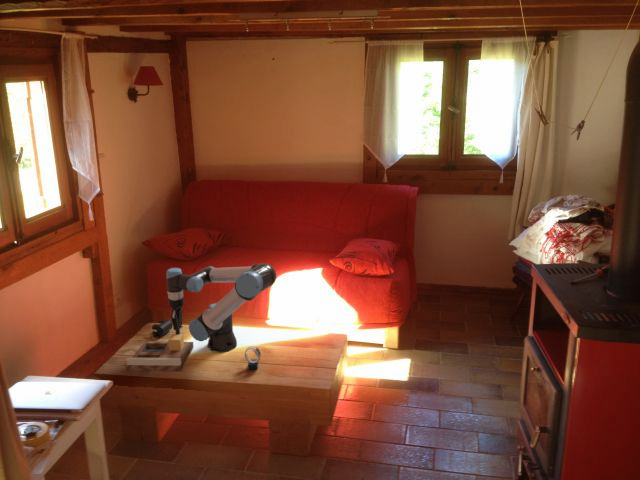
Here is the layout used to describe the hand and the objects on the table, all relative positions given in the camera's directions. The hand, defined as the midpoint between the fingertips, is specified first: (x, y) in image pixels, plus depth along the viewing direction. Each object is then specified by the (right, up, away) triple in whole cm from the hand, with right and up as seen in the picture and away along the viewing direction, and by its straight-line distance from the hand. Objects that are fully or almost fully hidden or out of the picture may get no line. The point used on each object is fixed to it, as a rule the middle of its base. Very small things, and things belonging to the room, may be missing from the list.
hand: (178, 339), depth 308 cm
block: (0, -3, -4) cm, 5 cm away
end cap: (-13, 0, +20) cm, 24 cm away
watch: (+41, -11, -19) cm, 46 cm away
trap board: (-7, -8, -9) cm, 13 cm away
